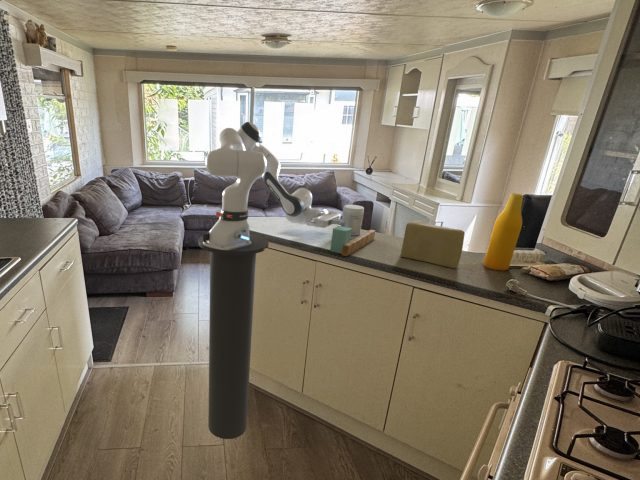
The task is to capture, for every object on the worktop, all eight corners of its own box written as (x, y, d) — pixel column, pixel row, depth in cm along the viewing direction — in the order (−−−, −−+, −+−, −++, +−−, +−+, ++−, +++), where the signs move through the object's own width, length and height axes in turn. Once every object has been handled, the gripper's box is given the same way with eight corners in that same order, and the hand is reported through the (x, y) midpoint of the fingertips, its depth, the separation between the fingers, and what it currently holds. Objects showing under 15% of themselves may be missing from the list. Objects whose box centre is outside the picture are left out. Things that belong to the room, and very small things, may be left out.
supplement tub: (336, 234, 210) (340, 204, 204) (354, 234, 212) (358, 204, 206) (344, 240, 202) (348, 208, 196) (362, 239, 203) (367, 208, 197)
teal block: (343, 254, 181) (346, 231, 177) (330, 251, 184) (333, 228, 180) (348, 250, 186) (351, 228, 182) (335, 248, 189) (338, 225, 185)
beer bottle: (509, 272, 168) (532, 197, 156) (482, 268, 171) (503, 194, 160) (507, 265, 175) (530, 194, 163) (482, 261, 179) (502, 191, 167)
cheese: (461, 266, 173) (471, 229, 166) (452, 271, 166) (461, 233, 160) (409, 252, 187) (416, 218, 181) (399, 256, 181) (405, 221, 175)
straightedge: (346, 256, 179) (348, 246, 177) (341, 255, 180) (342, 244, 178) (373, 239, 204) (375, 230, 203) (368, 238, 206) (370, 229, 204)
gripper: (307, 215, 205) (334, 219, 198) (325, 208, 220) (350, 212, 213) (306, 228, 207) (332, 233, 200) (323, 220, 223) (349, 224, 216)
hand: (342, 222), depth 207 cm, fingers closed, pressing on supplement tub
